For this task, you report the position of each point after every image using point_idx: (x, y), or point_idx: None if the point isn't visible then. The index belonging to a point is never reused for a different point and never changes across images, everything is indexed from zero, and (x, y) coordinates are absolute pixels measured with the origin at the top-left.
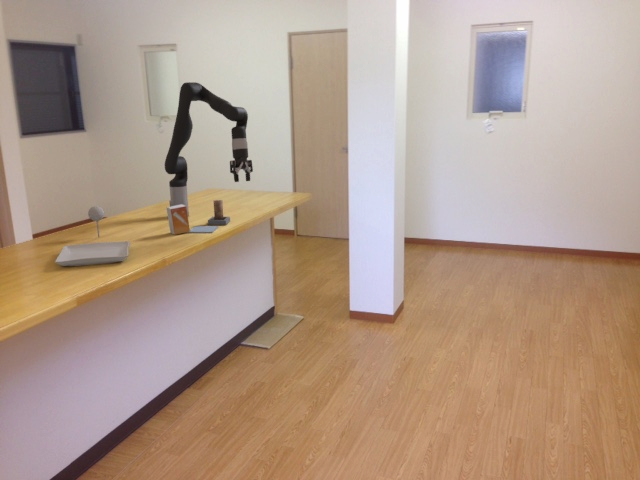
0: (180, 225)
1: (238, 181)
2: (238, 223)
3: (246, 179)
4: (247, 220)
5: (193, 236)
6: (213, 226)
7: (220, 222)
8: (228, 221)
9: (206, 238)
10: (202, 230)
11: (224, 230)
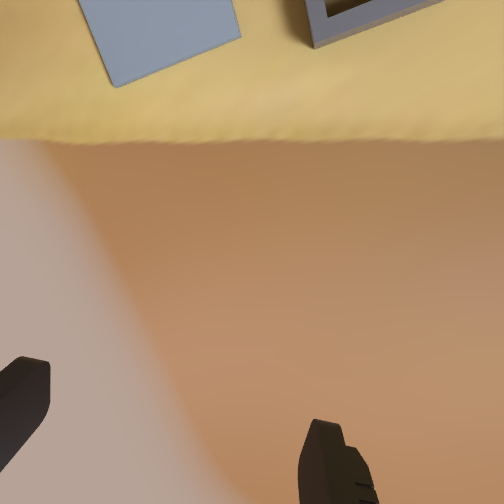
0: None
1: (39, 412)
2: (380, 106)
3: (314, 447)
4: (484, 119)
5: (17, 26)
6: (224, 3)
7: (305, 3)
8: (393, 18)
9: (28, 124)
10: (112, 1)
11: (192, 121)
